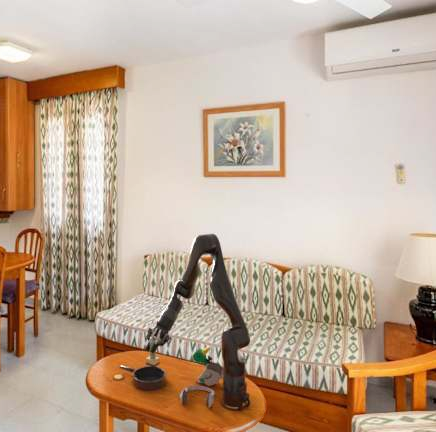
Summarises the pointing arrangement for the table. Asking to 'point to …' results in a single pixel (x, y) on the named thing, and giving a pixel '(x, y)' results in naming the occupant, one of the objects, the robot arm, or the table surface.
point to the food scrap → (118, 376)
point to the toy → (208, 368)
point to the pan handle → (127, 368)
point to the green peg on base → (152, 357)
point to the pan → (149, 378)
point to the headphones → (209, 397)
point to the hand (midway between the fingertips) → (149, 351)
